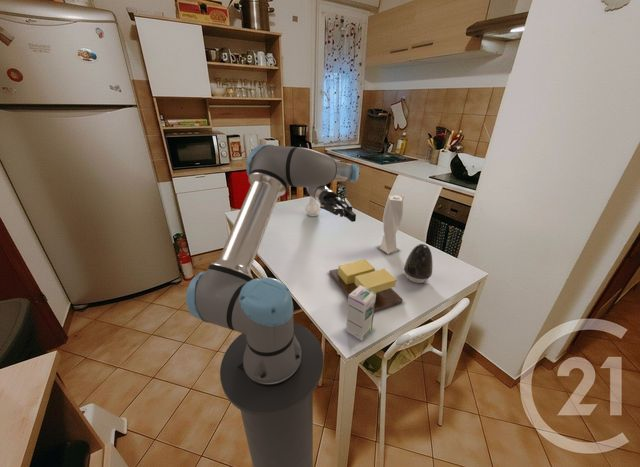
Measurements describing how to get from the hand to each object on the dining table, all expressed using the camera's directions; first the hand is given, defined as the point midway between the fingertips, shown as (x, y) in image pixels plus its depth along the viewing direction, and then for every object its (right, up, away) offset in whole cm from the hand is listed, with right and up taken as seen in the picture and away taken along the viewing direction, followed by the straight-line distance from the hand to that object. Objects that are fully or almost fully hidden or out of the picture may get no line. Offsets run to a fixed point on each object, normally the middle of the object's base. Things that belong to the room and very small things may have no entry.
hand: (353, 218), depth 96 cm
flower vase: (-16, +6, +61) cm, 64 cm away
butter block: (+1, -22, +6) cm, 23 cm away
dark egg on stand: (+25, -23, +7) cm, 35 cm away
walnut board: (+4, -26, +2) cm, 26 cm away
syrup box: (-1, -35, -16) cm, 39 cm away
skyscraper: (+19, -13, +26) cm, 35 cm away
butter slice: (+6, -23, -6) cm, 25 cm away
